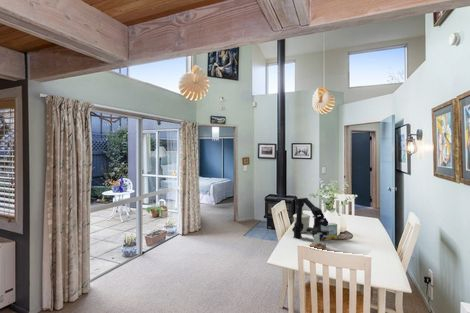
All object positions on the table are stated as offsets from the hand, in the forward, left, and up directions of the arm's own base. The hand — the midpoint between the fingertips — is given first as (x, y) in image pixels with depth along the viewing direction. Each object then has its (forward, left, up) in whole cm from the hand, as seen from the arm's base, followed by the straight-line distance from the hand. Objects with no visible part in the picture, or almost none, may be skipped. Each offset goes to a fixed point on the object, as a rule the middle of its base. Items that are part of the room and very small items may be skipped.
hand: (317, 240), depth 224 cm
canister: (-31, +33, -6) cm, 46 cm away
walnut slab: (0, 0, -7) cm, 7 cm away
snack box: (-2, +25, -6) cm, 26 cm away
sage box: (0, 0, -1) cm, 1 cm away
